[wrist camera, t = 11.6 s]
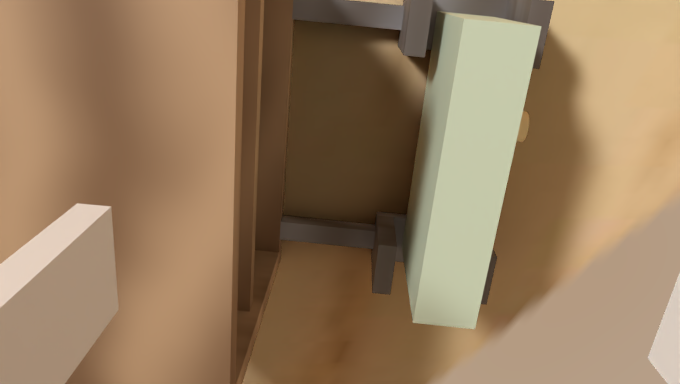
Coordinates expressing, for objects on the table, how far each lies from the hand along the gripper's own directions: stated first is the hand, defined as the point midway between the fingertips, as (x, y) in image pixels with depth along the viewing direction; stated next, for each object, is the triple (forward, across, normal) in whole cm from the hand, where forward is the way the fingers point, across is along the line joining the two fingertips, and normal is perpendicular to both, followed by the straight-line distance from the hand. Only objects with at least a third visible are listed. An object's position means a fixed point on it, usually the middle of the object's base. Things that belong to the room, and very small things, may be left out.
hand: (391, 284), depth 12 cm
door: (+19, +4, -1) cm, 19 cm away
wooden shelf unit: (+19, -3, -1) cm, 20 cm away
